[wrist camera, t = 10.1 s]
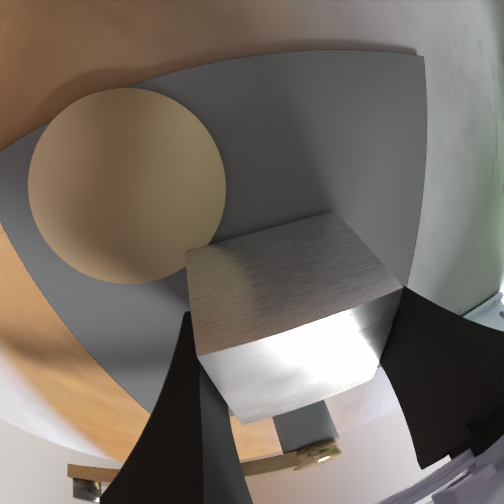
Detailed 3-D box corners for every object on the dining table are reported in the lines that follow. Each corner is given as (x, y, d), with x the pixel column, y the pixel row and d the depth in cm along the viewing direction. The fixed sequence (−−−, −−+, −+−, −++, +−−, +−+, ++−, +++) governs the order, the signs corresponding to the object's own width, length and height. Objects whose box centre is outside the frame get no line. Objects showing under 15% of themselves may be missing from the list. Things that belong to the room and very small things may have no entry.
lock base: (418, 56, 7) (528, 75, 3) (381, 362, 18) (410, 415, 14) (-18, 165, 6) (-105, 237, 2) (166, 423, 17) (172, 484, 13)
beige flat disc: (198, 59, 6) (199, 58, 6) (242, 251, 10) (244, 256, 10) (7, 140, 6) (2, 142, 6) (82, 295, 9) (80, 300, 9)
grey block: (334, 210, 10) (403, 287, 6) (332, 308, 13) (371, 379, 10) (184, 252, 9) (196, 356, 6) (222, 343, 12) (242, 424, 9)
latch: (342, 435, 11) (355, 467, 10) (330, 449, 13) (341, 477, 11) (63, 460, 9) (62, 493, 7) (85, 473, 10) (86, 502, 9)
